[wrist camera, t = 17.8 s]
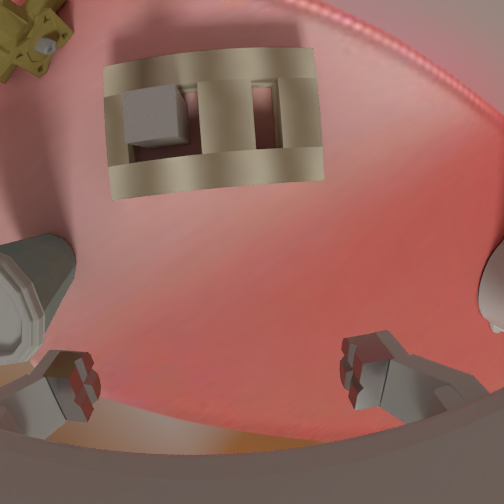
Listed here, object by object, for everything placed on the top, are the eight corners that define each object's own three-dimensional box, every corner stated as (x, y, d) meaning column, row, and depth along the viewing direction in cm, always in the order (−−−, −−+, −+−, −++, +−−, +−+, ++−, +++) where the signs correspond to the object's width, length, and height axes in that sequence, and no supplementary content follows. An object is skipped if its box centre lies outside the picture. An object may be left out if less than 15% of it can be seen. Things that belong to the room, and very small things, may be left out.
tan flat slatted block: (303, 59, 30) (313, 48, 26) (312, 178, 34) (324, 180, 30) (115, 76, 28) (103, 67, 25) (123, 196, 32) (111, 200, 28)
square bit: (187, 106, 30) (175, 83, 21) (189, 143, 31) (178, 135, 22) (149, 111, 30) (122, 92, 20) (151, 148, 31) (125, 143, 22)
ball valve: (-3, 76, 26) (36, 103, 27) (-53, 54, 16) (-20, 78, 17) (55, -3, 25) (103, 14, 26) (18, -41, 15) (66, -34, 16)
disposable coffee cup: (66, 200, 31) (-16, 228, 17) (111, 283, 34) (58, 354, 20) (8, 243, 32) (-70, 285, 17) (50, 317, 35) (-9, 385, 20)
